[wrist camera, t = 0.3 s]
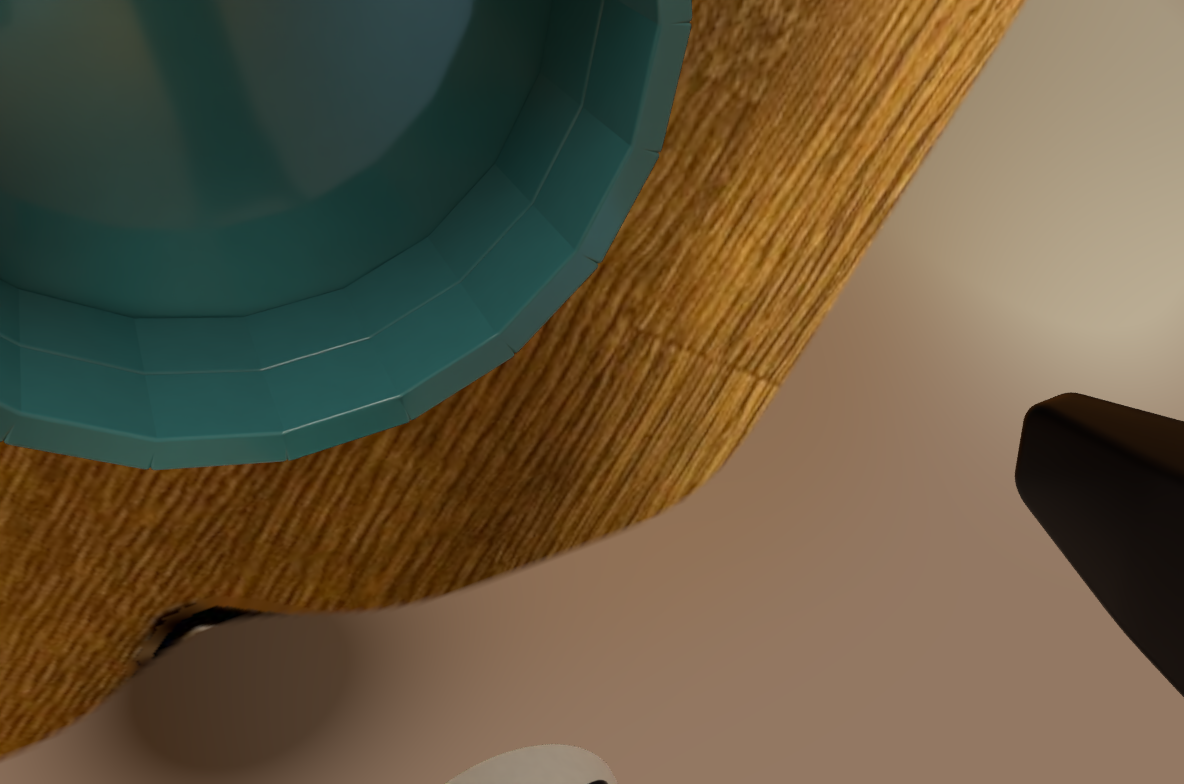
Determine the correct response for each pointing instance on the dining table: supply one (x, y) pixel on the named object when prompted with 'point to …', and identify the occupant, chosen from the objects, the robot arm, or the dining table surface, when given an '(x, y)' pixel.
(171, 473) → the dining table surface
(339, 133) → the pan
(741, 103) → the dining table surface
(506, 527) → the dining table surface
